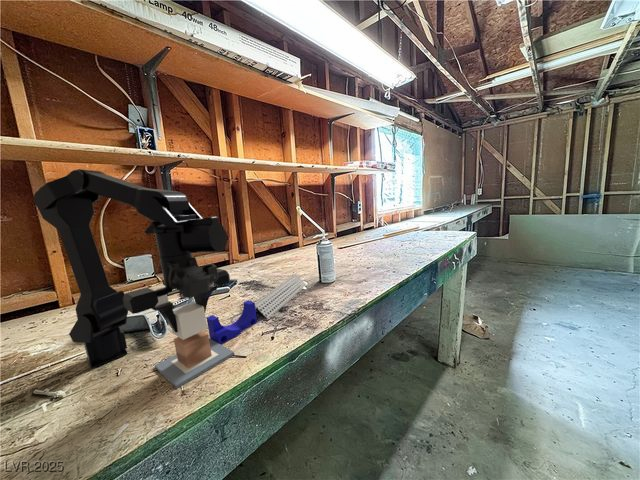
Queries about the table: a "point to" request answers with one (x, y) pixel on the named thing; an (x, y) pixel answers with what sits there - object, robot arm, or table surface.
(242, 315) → the blue cradle bracket
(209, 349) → the terracotta block
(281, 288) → the corner bead
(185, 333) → the cream block
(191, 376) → the grey base plate
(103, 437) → the table surface
